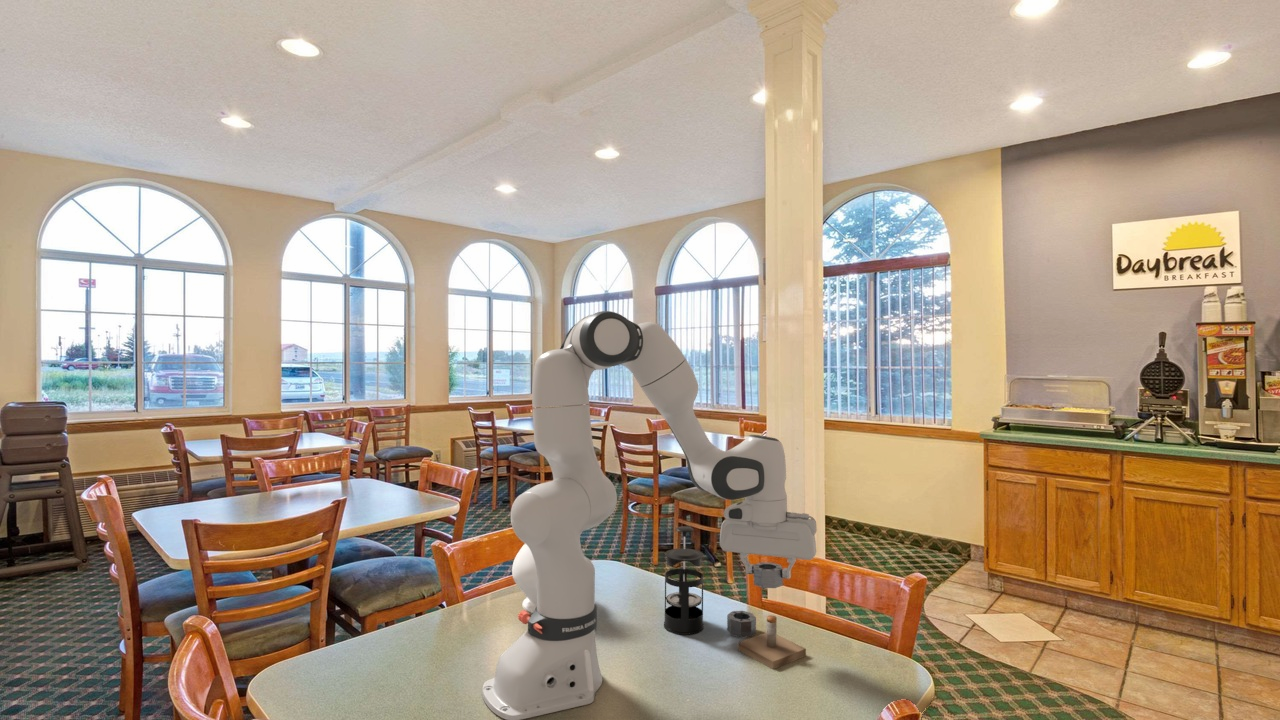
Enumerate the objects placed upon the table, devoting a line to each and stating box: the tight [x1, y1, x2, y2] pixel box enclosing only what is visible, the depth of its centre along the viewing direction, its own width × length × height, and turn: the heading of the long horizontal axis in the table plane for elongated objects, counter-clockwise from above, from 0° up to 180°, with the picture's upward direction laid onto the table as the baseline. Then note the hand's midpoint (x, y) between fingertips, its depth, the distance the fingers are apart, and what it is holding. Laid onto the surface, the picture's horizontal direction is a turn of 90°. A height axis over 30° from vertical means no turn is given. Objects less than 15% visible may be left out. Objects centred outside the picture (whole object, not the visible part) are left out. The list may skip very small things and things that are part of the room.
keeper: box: [737, 614, 807, 670], centre depth 128 cm, size 10×10×8 cm
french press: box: [663, 526, 705, 636], centre depth 141 cm, size 12×9×23 cm
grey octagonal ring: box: [726, 610, 757, 638], centre depth 138 cm, size 6×6×4 cm
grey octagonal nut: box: [753, 562, 784, 589], centre depth 128 cm, size 6×6×4 cm
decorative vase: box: [511, 543, 537, 614], centre depth 153 cm, size 18×18×25 cm
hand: (768, 575), depth 128 cm, fingers closed on grey octagonal nut, 6 cm apart
